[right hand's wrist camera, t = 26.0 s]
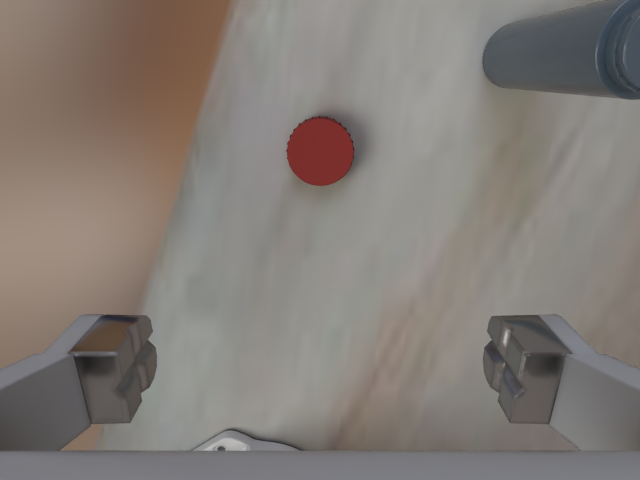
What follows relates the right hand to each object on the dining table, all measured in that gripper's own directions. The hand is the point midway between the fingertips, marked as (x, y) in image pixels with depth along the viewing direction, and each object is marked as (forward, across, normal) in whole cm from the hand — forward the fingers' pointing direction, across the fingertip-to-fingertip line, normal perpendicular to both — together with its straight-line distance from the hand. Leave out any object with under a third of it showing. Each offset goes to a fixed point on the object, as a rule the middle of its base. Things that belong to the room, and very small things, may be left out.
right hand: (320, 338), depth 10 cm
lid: (+26, 0, 0) cm, 26 cm away
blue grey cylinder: (+27, +15, +7) cm, 32 cm away
